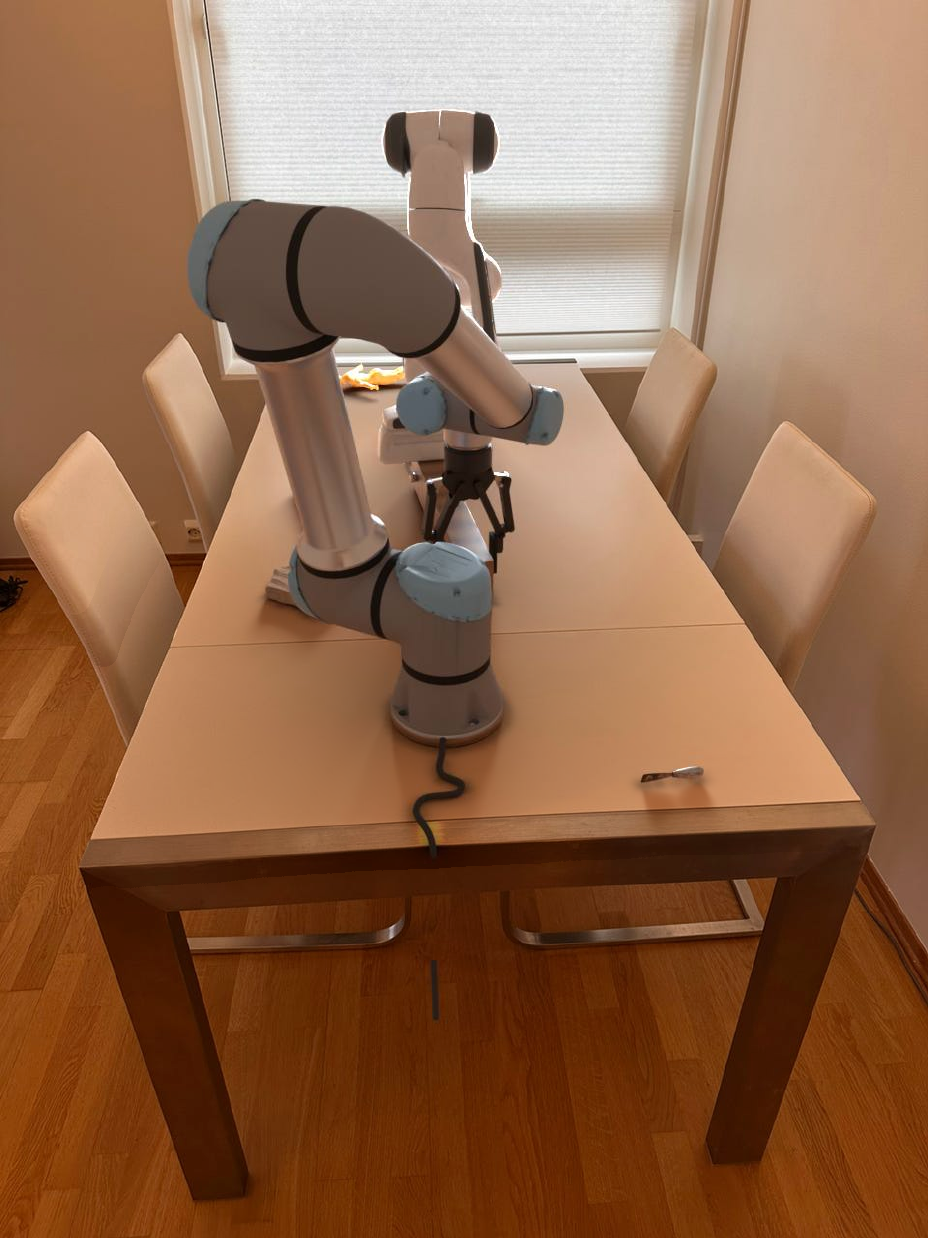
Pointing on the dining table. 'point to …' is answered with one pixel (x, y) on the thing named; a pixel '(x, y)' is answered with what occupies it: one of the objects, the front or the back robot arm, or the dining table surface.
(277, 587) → the stone
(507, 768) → the dining table surface
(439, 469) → the beam
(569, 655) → the dining table surface
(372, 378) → the human figure
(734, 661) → the dining table surface
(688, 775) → the putty knife
